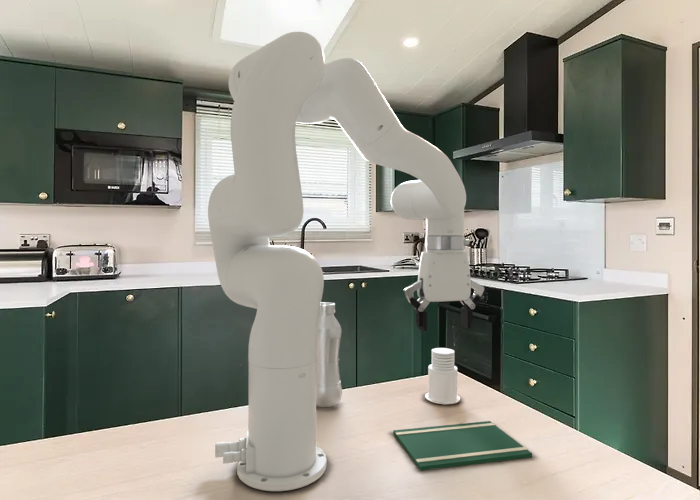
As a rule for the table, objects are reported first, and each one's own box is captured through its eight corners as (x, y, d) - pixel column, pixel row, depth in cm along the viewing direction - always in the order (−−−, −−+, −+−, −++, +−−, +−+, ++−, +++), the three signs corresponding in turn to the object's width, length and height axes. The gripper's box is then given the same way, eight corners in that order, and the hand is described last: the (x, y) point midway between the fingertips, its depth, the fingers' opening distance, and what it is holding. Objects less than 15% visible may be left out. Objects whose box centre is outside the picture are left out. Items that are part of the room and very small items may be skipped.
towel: (420, 470, 62) (420, 465, 62) (393, 433, 74) (393, 429, 74) (532, 457, 66) (532, 452, 66) (489, 424, 78) (489, 420, 78)
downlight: (464, 406, 86) (465, 356, 86) (428, 406, 86) (429, 355, 86) (455, 392, 94) (455, 346, 94) (422, 392, 94) (422, 345, 94)
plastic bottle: (338, 412, 83) (338, 306, 82) (303, 409, 84) (304, 305, 84) (345, 400, 89) (346, 301, 89) (313, 397, 90) (313, 300, 90)
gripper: (474, 244, 95) (473, 322, 96) (398, 245, 91) (398, 327, 92) (493, 245, 88) (492, 330, 88) (411, 246, 84) (411, 335, 84)
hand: (444, 328), depth 90 cm, fingers open, 9 cm apart
